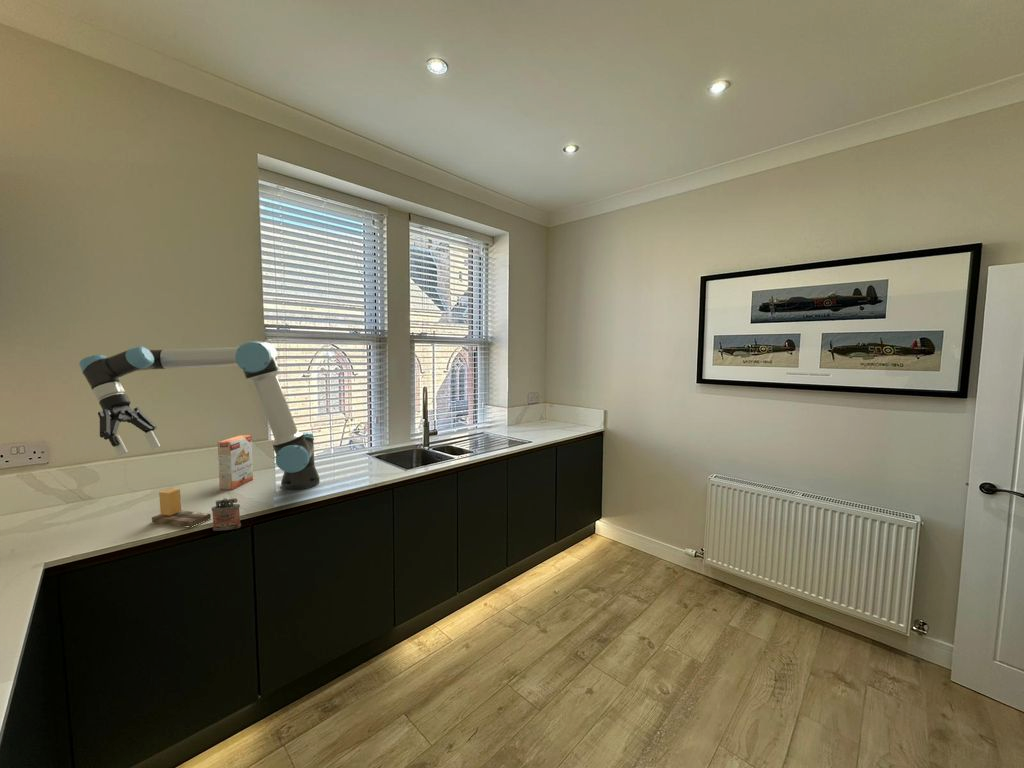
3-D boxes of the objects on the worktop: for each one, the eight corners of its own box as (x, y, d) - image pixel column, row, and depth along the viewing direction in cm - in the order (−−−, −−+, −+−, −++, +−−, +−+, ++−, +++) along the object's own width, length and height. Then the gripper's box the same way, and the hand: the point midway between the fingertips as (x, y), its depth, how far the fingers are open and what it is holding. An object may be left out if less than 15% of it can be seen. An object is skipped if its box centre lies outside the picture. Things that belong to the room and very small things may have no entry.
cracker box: (233, 490, 174) (230, 441, 172) (219, 490, 174) (216, 441, 172) (254, 479, 188) (252, 434, 186) (241, 479, 188) (239, 434, 186)
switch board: (152, 522, 142) (151, 516, 141) (172, 514, 148) (172, 509, 148) (191, 527, 138) (190, 521, 138) (210, 519, 145) (210, 513, 144)
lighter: (211, 531, 135) (209, 502, 134) (215, 527, 138) (213, 498, 138) (238, 528, 137) (237, 499, 136) (242, 524, 141) (240, 496, 140)
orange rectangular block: (160, 514, 142) (159, 492, 142) (172, 510, 146) (170, 488, 145) (169, 515, 141) (168, 493, 141) (181, 511, 145) (179, 489, 145)
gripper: (133, 401, 156) (159, 450, 157) (65, 403, 131) (96, 462, 132) (151, 392, 157) (177, 441, 157) (87, 393, 132) (118, 451, 132)
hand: (140, 450), depth 145 cm, fingers open, 13 cm apart
